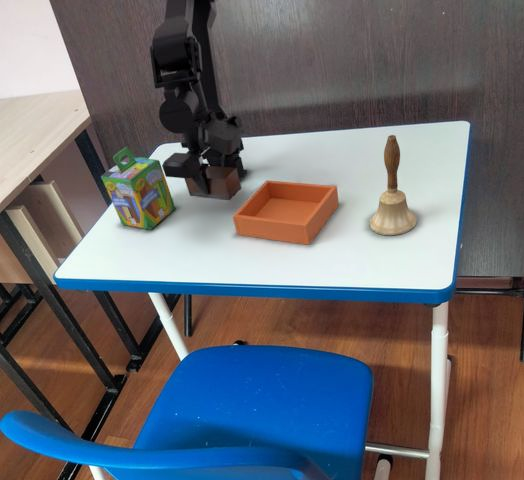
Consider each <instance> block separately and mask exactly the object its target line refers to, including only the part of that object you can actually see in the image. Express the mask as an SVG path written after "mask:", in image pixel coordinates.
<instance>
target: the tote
mask: <svg viewBox="0 0 524 480" xmlns="http://www.w3.org/2000/svg"><path fill="white" fill-rule="evenodd" d="M339 206H340V202H339V194H338V186H337V185H329V184H328V185H327V184H314V183H303V182H302V183H301V182H292V181H281V180H279V181H278V180H265V181H264V182H263V183H262V184H261V186H259V188H257V190H256V191H255V192H254V193H253V194H252V195H250V197H249V198H248V199H247V200H246V201H245V203H243V205H242V206H241V207H240V208H239V209H238V210H237V211H236V212H235V213H234V214H233V215H232V219H233V225H234V228H235V230H236V235H238V236H244V237H252V238H258V239H264V240H273V241H279V242H286V243H293V244H298V245H299V244H300V245H307V246H310V244H311V243H312V242H313V240H314V239H315V237H316V236H317V235H318V234H319V232H320V231H321V230H322V228H324V226H325V224H326V223H327V222H328V220H329V219H330V218H331V216H332V215H333V214H334V212H335V211H336V210H337V209H338V207H339Z"/></svg>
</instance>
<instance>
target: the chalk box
mask: <svg viewBox="0 0 524 480" xmlns="http://www.w3.org/2000/svg"><path fill="white" fill-rule="evenodd" d="M125 156H126V157H125ZM123 157H125V158H124V159H123V160H122V158H123ZM112 160H113V161H114V163H115V165H114V166H112V167H111V168H110V169H108V170H107V171H105V172H104V173H103V174H101V176H100V178H101V181H102V182H103V185H104V186H105V190H106V192H107V193H108V196H109V198H110V200H111V202H112V204H113V207H114V210H115V211H116V214H117V216H118V218H119V220H120V223H121V225H122V226H127V227H134V228H139V229H145V230H150V231H151V230H152V229H154V228H155V227H156V226H157V225H158V224H159V223H160V222H162V220H164V219H166V217H168V216H169V215H170V214H171V213H172V212H173V211H175V210H177V209H176V206H175V202H174V199H173V197H172V194H171V191H170V187H169V185H168V182H167V179H166V176H165V173H164V170H163V167H162V165H161V162H160V160H159V159H153V158H147V157H143V156H142V157H141V156H139V157H134V155H133V153H132V152H131V150H130V148H129V147H128V146H125V147H124V148H122V149H121V150H120V151H118V152H117V153H115V154H114V155H113V156H112Z"/></svg>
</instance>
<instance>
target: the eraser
mask: <svg viewBox="0 0 524 480" xmlns="http://www.w3.org/2000/svg"><path fill="white" fill-rule="evenodd" d="M206 174H207V179H208V183H209V188H210V194H209V195H208V194H205V193H204V192H203V191H202V190H201V189H200V188H199V187H198V186H197V185H196V184H195V183H194V181H193V180H192V179H191V178H183V179H184V182H185V185H186V188H187V191H188V194H189V196H190V197H195V198H205V199H213V200H224V201H231V200H232V199H233V198H234V197H235V196H236V195H237V194H238V193H239V192H240V191H241V190H242V186H241V181H240V180H241V179H240V180H239V176H238V172H237V168H230V167H216V166H208V167H207V169H206Z"/></svg>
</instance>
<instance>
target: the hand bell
mask: <svg viewBox="0 0 524 480" xmlns="http://www.w3.org/2000/svg"><path fill="white" fill-rule="evenodd" d="M383 161H384V166H385V170H386V174H387V185H386V186H387V190H385V191H384V192H382V193H381V194H380V196H379V199H378V207H377V211H376V212H375V213H374V214H373V215H372V216H371V218H370V220H369V228H370V229H371V231H373V232H374V233H375V234H380V235H383V236H397V235H402V234H406V233H407V232H409V231H411V230H412V229H414V228H415V227H416V225H417V224H418V218H417V215H415V213H414V212H413V211H412V210H410V208H409V207H408V203H407V202H408V201H407V195H406V193H405V192H404V191H402V190H400V189H398V187H399V186H398V171H399V166H400V163H401V149H400V144H399V143H398V140H397V136H396V135H394V134H391V135H389V136H387V139H386V143H385V146H384V150H383Z"/></svg>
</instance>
